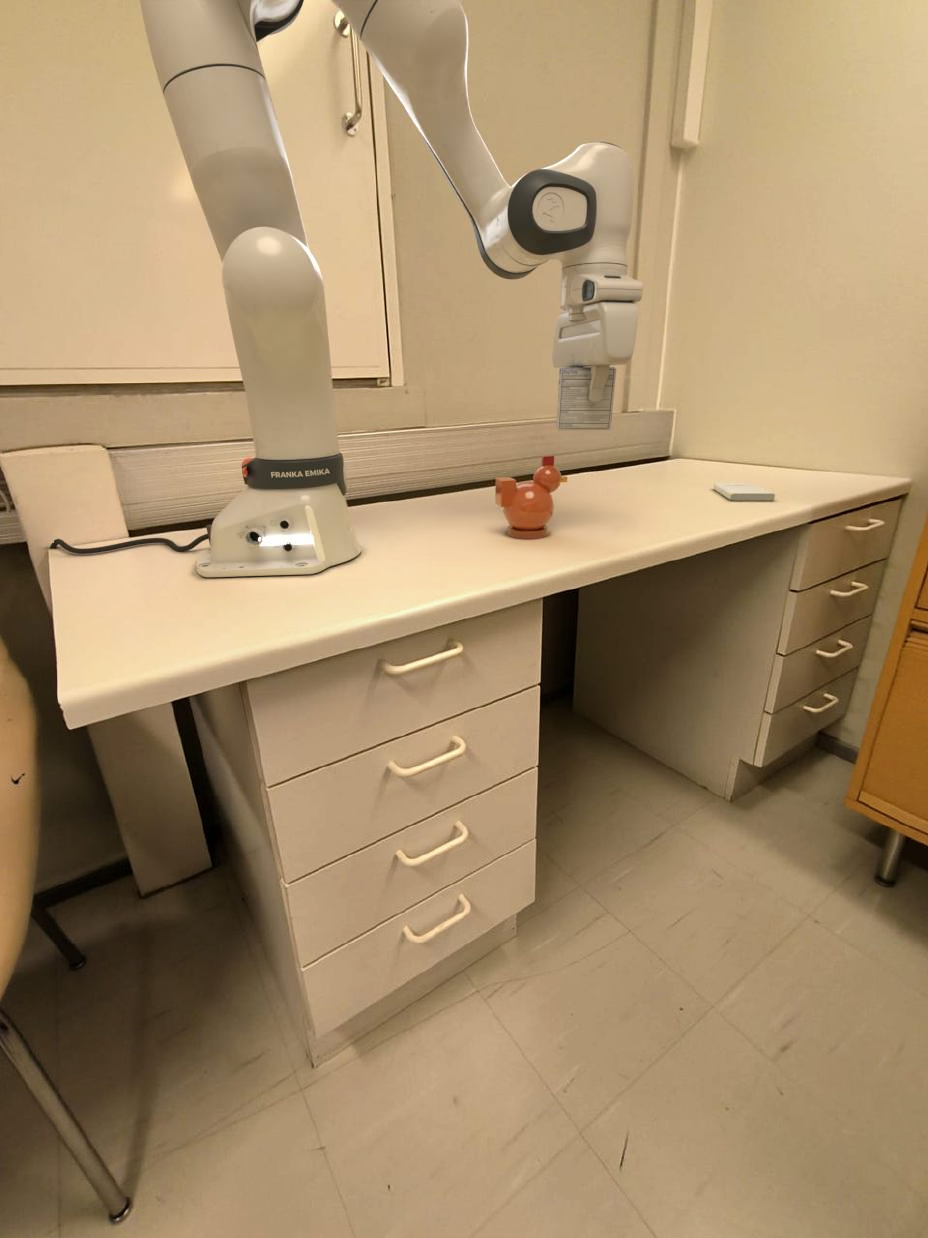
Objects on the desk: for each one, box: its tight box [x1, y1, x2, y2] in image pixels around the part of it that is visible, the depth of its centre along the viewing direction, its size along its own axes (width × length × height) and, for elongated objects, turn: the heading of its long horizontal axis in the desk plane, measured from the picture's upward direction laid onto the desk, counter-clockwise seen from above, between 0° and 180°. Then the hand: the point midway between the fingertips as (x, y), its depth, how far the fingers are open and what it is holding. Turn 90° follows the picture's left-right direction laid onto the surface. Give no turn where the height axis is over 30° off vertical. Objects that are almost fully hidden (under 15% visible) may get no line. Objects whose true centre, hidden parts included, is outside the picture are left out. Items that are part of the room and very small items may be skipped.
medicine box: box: [556, 366, 617, 431], centre depth 83 cm, size 8×4×9 cm, turn 84°
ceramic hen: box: [494, 454, 568, 540], centre depth 89 cm, size 11×8×12 cm
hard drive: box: [712, 482, 776, 502], centre depth 116 cm, size 2×8×12 cm
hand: (584, 400), depth 84 cm, fingers closed on medicine box, 5 cm apart
